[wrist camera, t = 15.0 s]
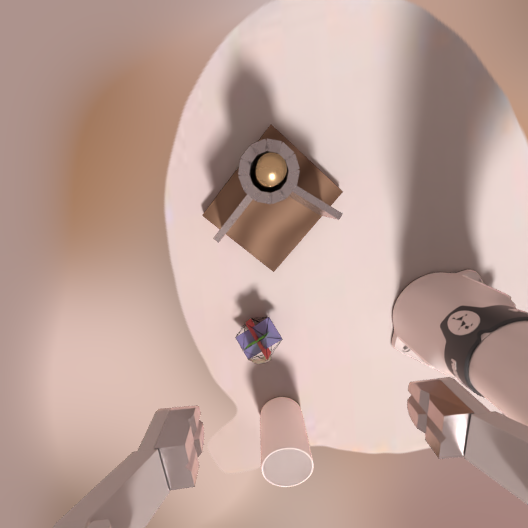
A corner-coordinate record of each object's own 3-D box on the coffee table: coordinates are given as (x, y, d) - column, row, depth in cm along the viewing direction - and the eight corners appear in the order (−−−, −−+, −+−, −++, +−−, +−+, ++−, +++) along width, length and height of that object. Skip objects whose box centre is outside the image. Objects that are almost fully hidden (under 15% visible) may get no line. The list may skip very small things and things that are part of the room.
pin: (279, 177, 35) (293, 167, 24) (266, 194, 36) (273, 191, 24) (264, 163, 35) (269, 145, 23) (250, 180, 35) (249, 171, 24)
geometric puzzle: (223, 321, 40) (237, 368, 35) (257, 300, 39) (277, 344, 34) (244, 333, 46) (259, 374, 41) (275, 314, 45) (293, 354, 40)
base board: (339, 192, 38) (342, 191, 36) (273, 269, 40) (273, 271, 39) (270, 127, 35) (270, 124, 33) (204, 214, 38) (202, 215, 36)
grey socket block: (329, 204, 37) (352, 206, 28) (273, 269, 39) (278, 290, 30) (262, 144, 34) (265, 125, 25) (206, 217, 36) (191, 223, 28)
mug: (320, 426, 49) (336, 483, 39) (287, 446, 50) (295, 507, 40) (285, 387, 47) (293, 438, 37) (251, 410, 48) (250, 465, 38)
